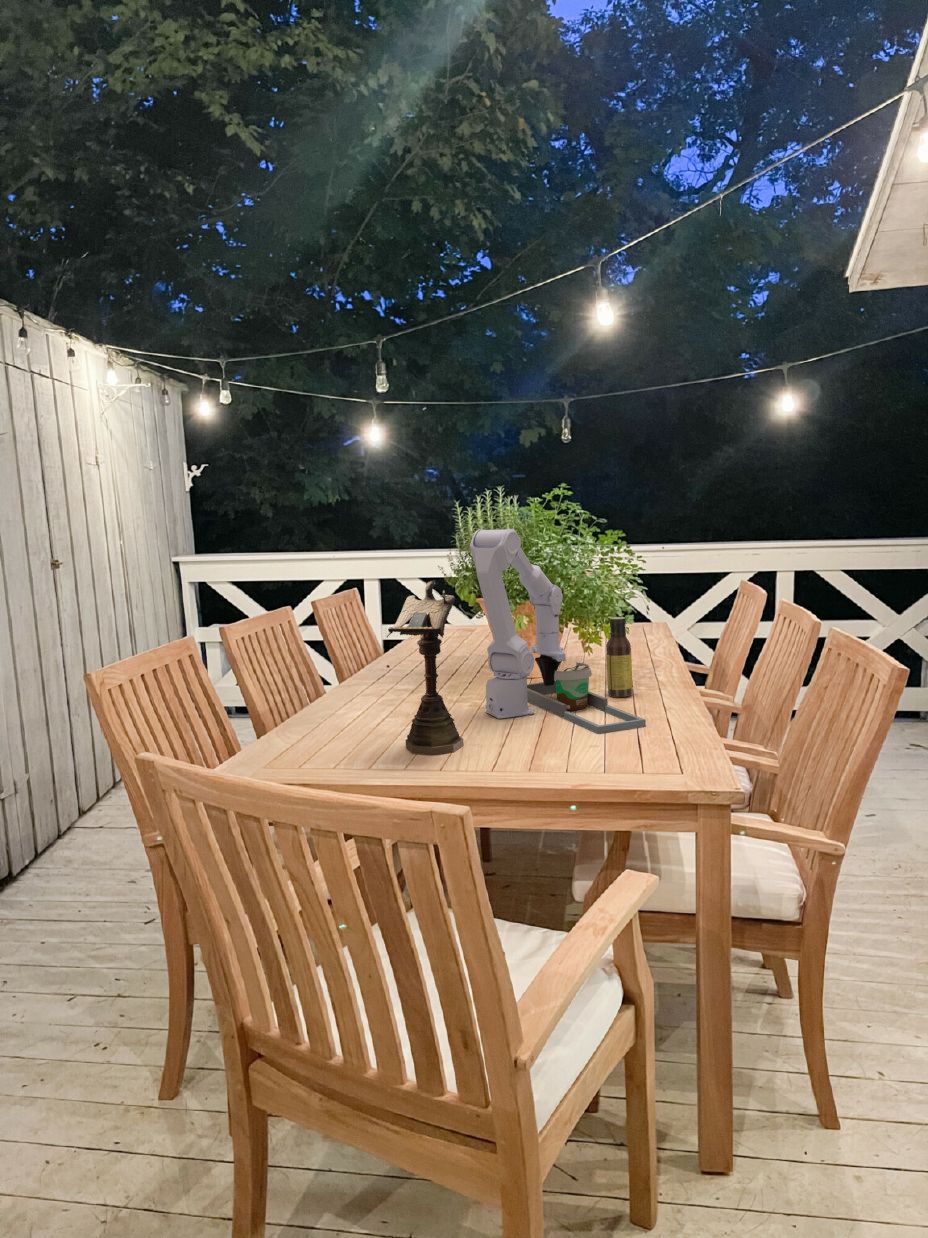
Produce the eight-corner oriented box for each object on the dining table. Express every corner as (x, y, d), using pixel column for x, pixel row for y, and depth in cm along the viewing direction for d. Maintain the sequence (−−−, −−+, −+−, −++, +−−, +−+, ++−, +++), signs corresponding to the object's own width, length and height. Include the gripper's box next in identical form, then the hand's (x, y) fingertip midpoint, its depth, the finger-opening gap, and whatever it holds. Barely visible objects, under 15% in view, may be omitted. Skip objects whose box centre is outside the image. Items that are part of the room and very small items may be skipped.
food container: (578, 715, 193) (577, 673, 191) (554, 712, 196) (553, 671, 195) (600, 703, 203) (600, 663, 201) (578, 701, 206) (577, 661, 205)
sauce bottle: (637, 695, 210) (636, 617, 207) (619, 699, 206) (618, 620, 204) (619, 691, 215) (618, 615, 212) (601, 695, 212) (600, 617, 209)
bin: (562, 717, 191) (562, 705, 191) (517, 697, 213) (517, 685, 213) (607, 711, 196) (607, 698, 195) (558, 691, 218) (558, 680, 217)
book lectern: (446, 765, 160) (438, 584, 155) (386, 759, 165) (376, 584, 160) (478, 741, 175) (471, 576, 170) (422, 737, 180) (414, 576, 175)
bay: (598, 734, 177) (597, 727, 177) (563, 718, 191) (563, 712, 191) (645, 726, 181) (645, 719, 181) (608, 711, 195) (608, 705, 195)
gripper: (575, 634, 202) (577, 688, 204) (548, 626, 216) (549, 677, 218) (550, 637, 200) (551, 692, 202) (523, 629, 213) (525, 681, 215)
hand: (549, 685), depth 210 cm, fingers closed
